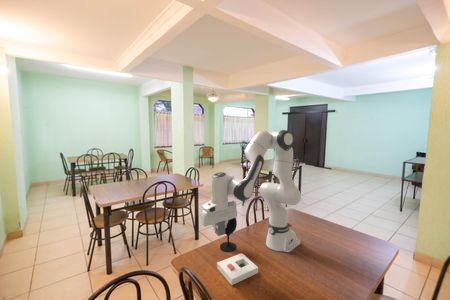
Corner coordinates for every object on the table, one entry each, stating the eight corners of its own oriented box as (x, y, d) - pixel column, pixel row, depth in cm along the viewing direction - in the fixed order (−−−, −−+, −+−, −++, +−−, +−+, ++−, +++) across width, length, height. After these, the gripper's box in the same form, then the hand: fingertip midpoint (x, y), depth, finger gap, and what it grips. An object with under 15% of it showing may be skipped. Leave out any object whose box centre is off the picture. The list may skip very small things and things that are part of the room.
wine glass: (217, 244, 131) (217, 214, 128) (232, 241, 134) (232, 211, 132) (223, 253, 121) (223, 221, 119) (239, 250, 125) (239, 218, 122)
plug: (221, 230, 112) (221, 218, 111) (225, 233, 109) (225, 221, 108) (214, 232, 110) (214, 220, 109) (218, 236, 107) (218, 223, 106)
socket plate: (241, 257, 117) (241, 251, 117) (257, 272, 105) (258, 265, 105) (217, 267, 109) (217, 261, 109) (231, 285, 97) (231, 277, 97)
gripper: (233, 198, 115) (233, 221, 117) (199, 206, 105) (200, 231, 107) (239, 201, 110) (239, 226, 112) (204, 210, 99) (205, 237, 101)
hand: (220, 229), depth 109 cm, fingers closed on plug, 4 cm apart
